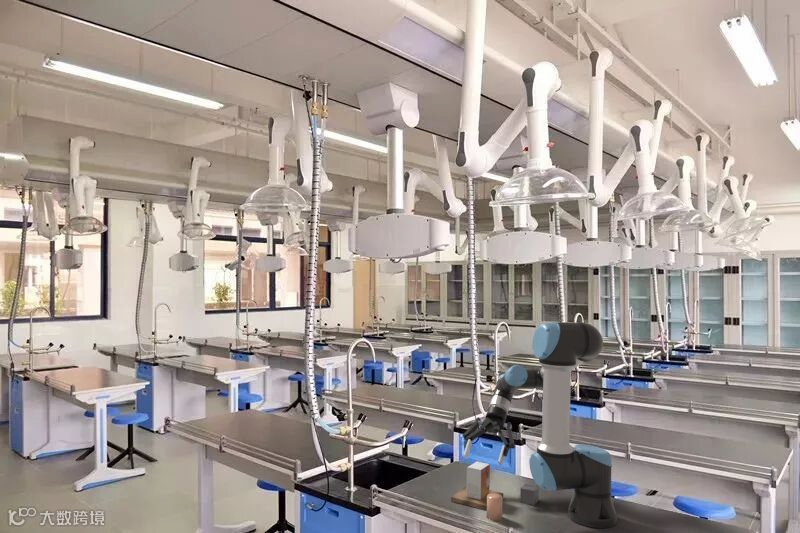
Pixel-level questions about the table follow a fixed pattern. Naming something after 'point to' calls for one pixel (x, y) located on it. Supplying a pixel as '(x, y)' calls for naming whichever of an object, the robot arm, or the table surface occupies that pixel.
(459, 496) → the walnut board
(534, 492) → the charcoal block
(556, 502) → the table surface
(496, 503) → the pinkish-brown upright cylinder
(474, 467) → the small box
